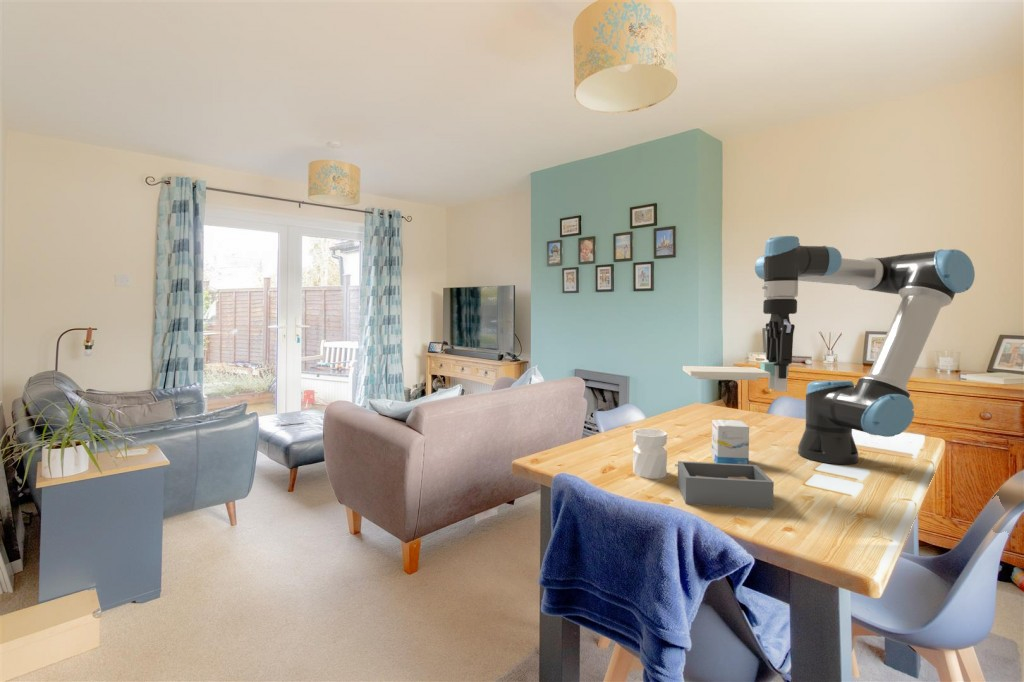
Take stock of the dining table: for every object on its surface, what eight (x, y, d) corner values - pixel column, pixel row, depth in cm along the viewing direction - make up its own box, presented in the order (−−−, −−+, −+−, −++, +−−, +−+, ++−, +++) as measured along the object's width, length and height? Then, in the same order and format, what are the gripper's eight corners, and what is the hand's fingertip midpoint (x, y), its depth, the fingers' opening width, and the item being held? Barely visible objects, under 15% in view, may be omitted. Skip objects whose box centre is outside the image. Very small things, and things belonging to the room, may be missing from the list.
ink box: (749, 467, 135) (750, 426, 135) (716, 465, 137) (717, 425, 136) (741, 458, 144) (741, 420, 143) (710, 457, 145) (711, 418, 145)
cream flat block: (777, 375, 129) (777, 360, 129) (795, 382, 117) (795, 365, 117) (682, 373, 134) (682, 359, 134) (690, 380, 122) (690, 364, 121)
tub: (755, 493, 116) (756, 464, 115) (772, 514, 104) (773, 482, 104) (677, 488, 119) (677, 461, 119) (685, 508, 107) (686, 477, 107)
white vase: (657, 470, 133) (657, 427, 133) (672, 481, 125) (673, 435, 124) (627, 472, 132) (627, 429, 131) (641, 483, 123) (641, 437, 122)
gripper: (754, 299, 131) (752, 384, 133) (775, 297, 115) (772, 394, 116) (784, 299, 130) (781, 385, 131) (810, 297, 114) (806, 395, 115)
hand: (777, 389), depth 124 cm, fingers closed on cream flat block, 3 cm apart
